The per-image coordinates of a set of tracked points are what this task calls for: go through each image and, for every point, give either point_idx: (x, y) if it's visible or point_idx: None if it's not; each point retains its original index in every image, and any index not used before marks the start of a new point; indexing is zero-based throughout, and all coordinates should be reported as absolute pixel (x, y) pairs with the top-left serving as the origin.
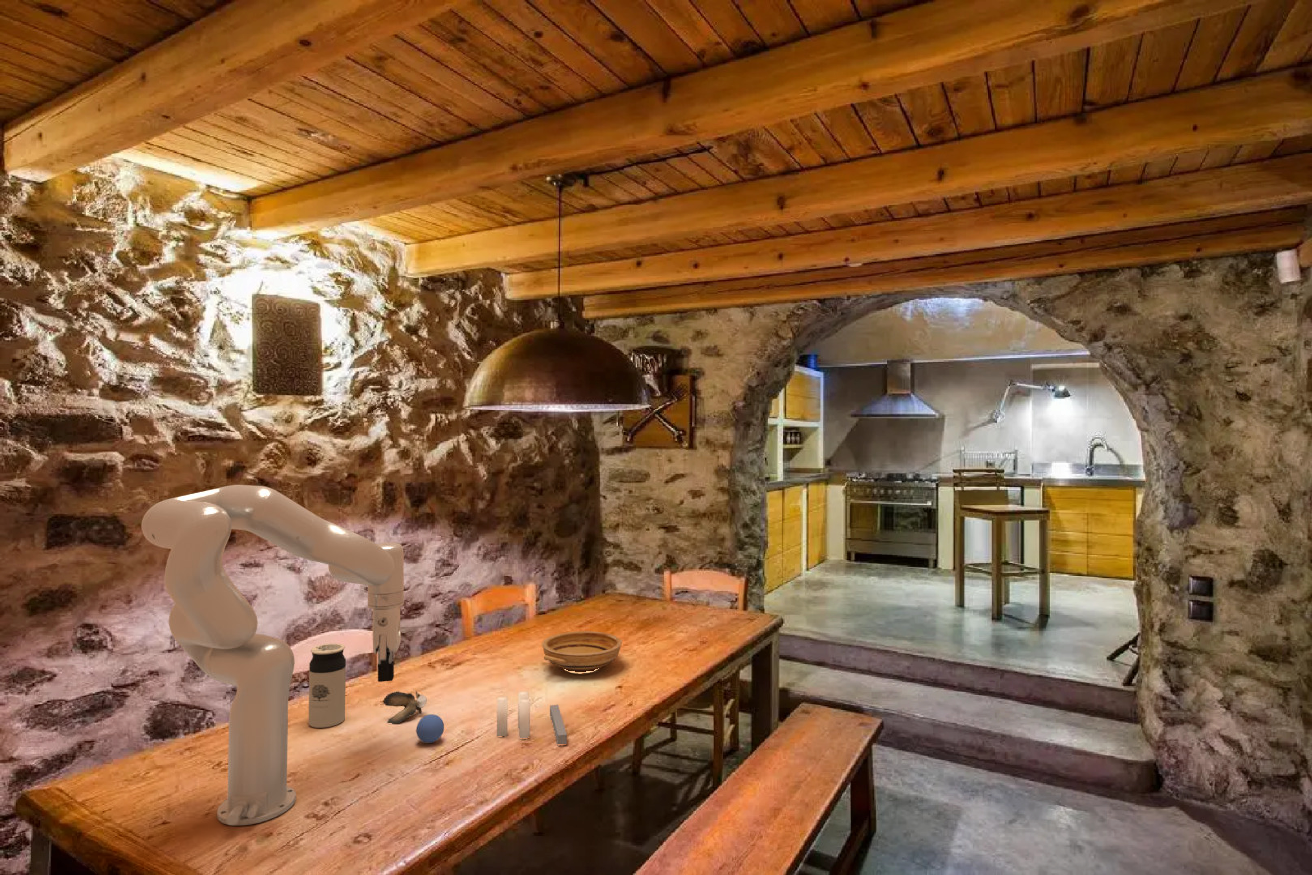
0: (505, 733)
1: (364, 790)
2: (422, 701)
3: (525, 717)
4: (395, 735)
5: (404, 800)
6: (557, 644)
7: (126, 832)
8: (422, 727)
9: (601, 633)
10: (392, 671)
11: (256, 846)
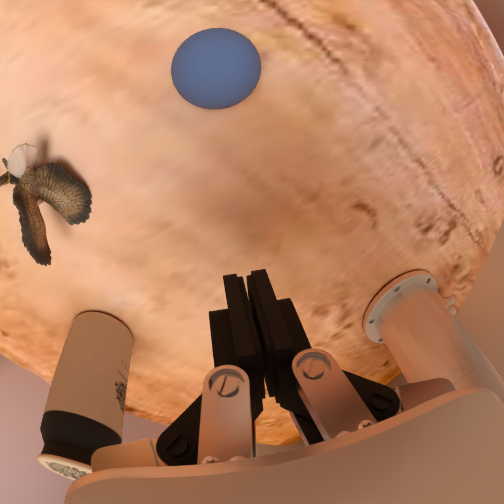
0: None
1: (414, 181)
2: (24, 156)
3: None
4: (160, 176)
5: (455, 115)
6: None
7: (387, 376)
8: (253, 85)
9: None
10: (276, 303)
11: (467, 268)
